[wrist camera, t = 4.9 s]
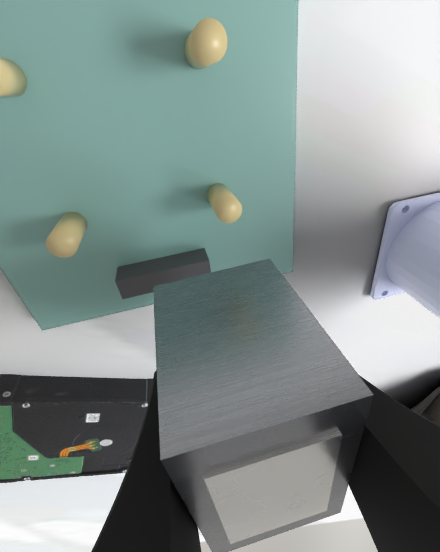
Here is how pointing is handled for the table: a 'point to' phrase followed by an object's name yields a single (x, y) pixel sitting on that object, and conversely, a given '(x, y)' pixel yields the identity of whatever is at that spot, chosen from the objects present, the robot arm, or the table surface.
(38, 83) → the teal peg board
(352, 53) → the table surface
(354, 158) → the table surface
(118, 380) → the disk drive
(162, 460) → the dark grey block
